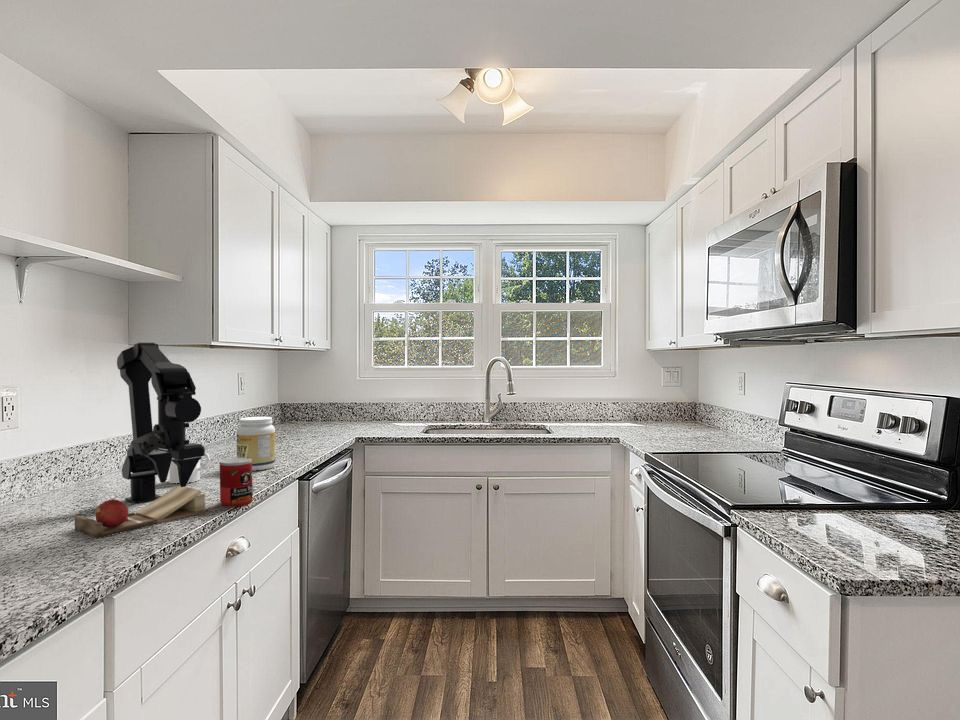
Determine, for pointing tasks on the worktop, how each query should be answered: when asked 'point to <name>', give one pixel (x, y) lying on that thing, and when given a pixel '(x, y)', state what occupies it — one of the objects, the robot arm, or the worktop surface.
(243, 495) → the canned food
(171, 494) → the ramp
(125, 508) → the onion
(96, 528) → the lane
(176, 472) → the mug
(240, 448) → the supplement tub
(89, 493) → the worktop surface
